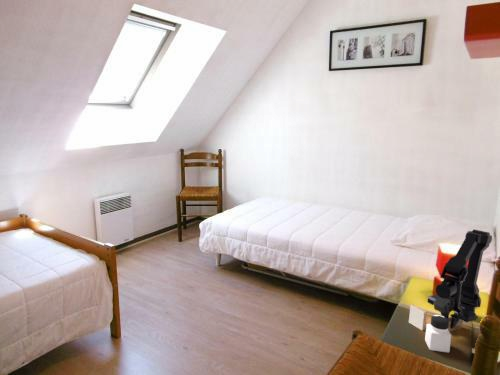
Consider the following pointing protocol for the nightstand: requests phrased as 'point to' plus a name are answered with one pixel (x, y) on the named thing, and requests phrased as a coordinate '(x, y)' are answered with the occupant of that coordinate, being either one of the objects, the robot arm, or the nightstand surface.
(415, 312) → the tile
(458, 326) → the turner
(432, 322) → the medicine bottle
